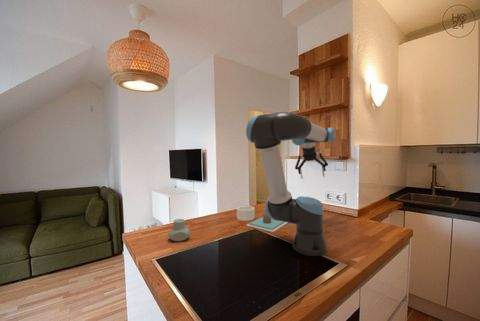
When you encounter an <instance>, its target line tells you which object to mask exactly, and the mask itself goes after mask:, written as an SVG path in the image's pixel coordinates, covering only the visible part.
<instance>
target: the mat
mask: <svg viewBox="0 0 480 321" xmlns="http://www.w3.org/2000/svg"><path fill="white" fill-rule="evenodd" d="M287 224H288V222H285V223H283V224H282V225H280V226H278V227H277V228H275V229H273V230H269V229H264V228H260V227H256V226H252V225H249V223H247V224H246V226H247V227H253V228H256V229H261V230H265V231H269V232H275V231H277V230H278V229H281V227H283V226H285V225H287Z"/></svg>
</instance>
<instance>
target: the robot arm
mask: <svg viewBox="0 0 480 321" xmlns="http://www.w3.org/2000/svg"><path fill="white" fill-rule="evenodd" d="M245 134H246V138H247V140H248V142H250V143H252V144H253V143H254V147H255V150H258V151H259V154H260V158H261V162H262V166H263V171H264V175H265V179H266V184H267V187H268V192H269V195H268V196H267V198H266V201H265V207H264V209H265V210H266V213H267V215H268V216H269V217H270V218H271V219H274V220H277V221H283V222H288V223H289V224H293V225H296V232H295V234H294V238H293V240H292V248H293V250H294V251H295V252H296V253H299V254H301V255H303V256H308V257H321V256H323V255H325V254H326V253H328V245H327V242H326V239H325V236H324V231H323V230H324V229H323V228H324V210H323V203H322V202H321V201H320V200H319V199H317V198H315V197H309V196H302V195H301V196H297V197H296V198H293V195H292V193H291V192H290V191H289V190H288V188H287V182H286V177H285V172H284V168H283V163H282V158H281V154H280V149H279V148H280V147H279V146H280V145H281V143H282V142H283V141H284V142H285V141H291V142H292V143H293V144H294V145H296V146H301V147H302V153H303V154H301V153H300V154H298V158H297V161H296V164H295V166H294V169H295V170H297V171H298V174H299V175H300V178H301V180H302V179H303V172H302V168H303V166H304V164H305V163H306V162H309V161H315V162H317V164H319V165H320V166H321V171H322V177H323V178H324V177H325V172H327V171H326V167H328V166H329V163H328V162H327V160H326V159H325V158H324V156H323V155H322V152H321V151H318V152H317V151H316V145H315V143H332V142H333V143H334V141H335V139H336V130H335V128H334V127H322V126H321V125H318V124H315V123H313V122H311V120H310V119H309V118H308V117H306V116H303V115H300V114H296V113H292V112H288V111H280V112H274V113H266V114H258V115H254V116H252V117H251V118H249V120H248V122H247V124H246V127H245ZM317 156H318V157H319V158H320V159H321V160H322V161H323V162H322V161H321V160H320V159H319V158H318V157H317ZM302 158H303V160H302V161H301V159H302ZM288 223H287V224H288Z"/></svg>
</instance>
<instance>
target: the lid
mask: <svg viewBox="0 0 480 321" xmlns="http://www.w3.org/2000/svg"><path fill="white" fill-rule="evenodd" d="M283 223H285V222H283V221H277V220H274V219H271V218H270V217H269V216H268V215H267V213H266V210H265V208H262V216H261V217H259V218H257V219H254V220H253V221H251V222H249V223H248V224H249V225H252V226H256V227H260V228H264V229H269V230H273V229H275V228H277V227H278V226H280V225H282V224H283ZM252 226H251V227H252ZM256 227H255V228H256ZM260 228H259V229H260ZM264 229H263V230H264Z"/></svg>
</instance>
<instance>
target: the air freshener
mask: <svg viewBox="0 0 480 321" xmlns="http://www.w3.org/2000/svg"><path fill="white" fill-rule="evenodd" d="M172 222H173V228H172V229H170V231H169V232H168V238H169V239H171V240H172V241H173V242H183V241H185V240H187V239H188V238H189V236H190V235H191V230H190V229H189V227H187V226H186V220H185V219H183V218H178V219H174V220H173V221H172Z"/></svg>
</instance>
